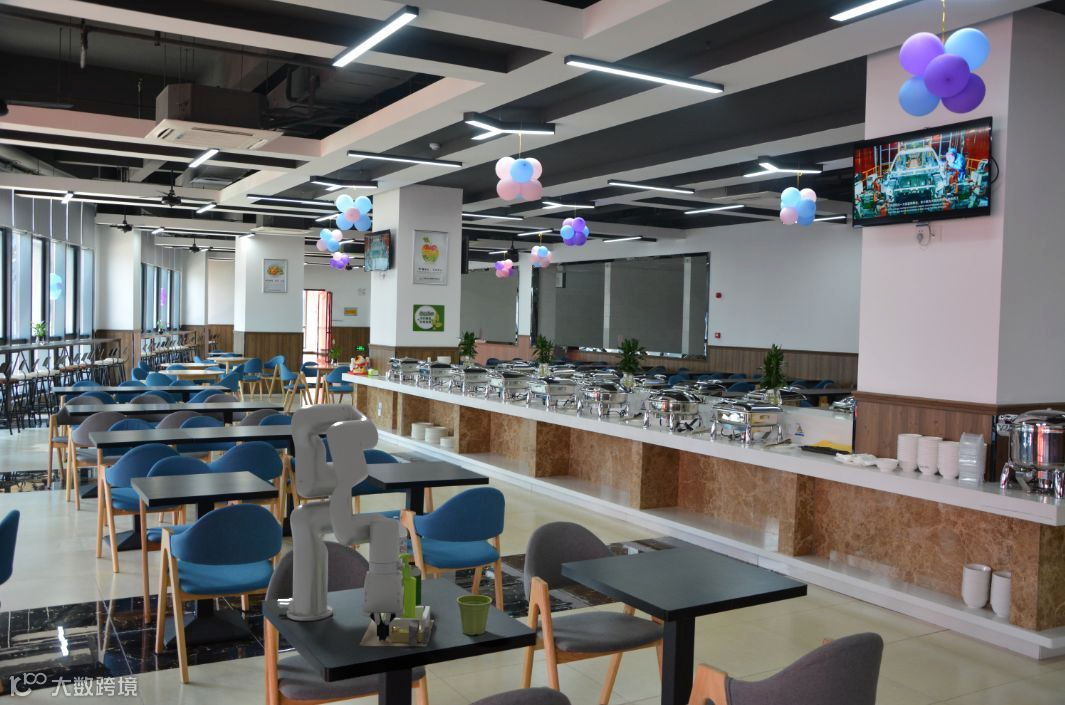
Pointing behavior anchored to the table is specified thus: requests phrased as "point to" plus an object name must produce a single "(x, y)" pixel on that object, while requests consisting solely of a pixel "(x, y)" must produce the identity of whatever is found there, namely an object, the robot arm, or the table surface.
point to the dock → (405, 622)
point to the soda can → (417, 582)
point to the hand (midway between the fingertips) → (382, 638)
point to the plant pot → (474, 613)
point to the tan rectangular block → (404, 635)
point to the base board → (373, 640)
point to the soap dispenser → (408, 588)
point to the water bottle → (402, 538)
